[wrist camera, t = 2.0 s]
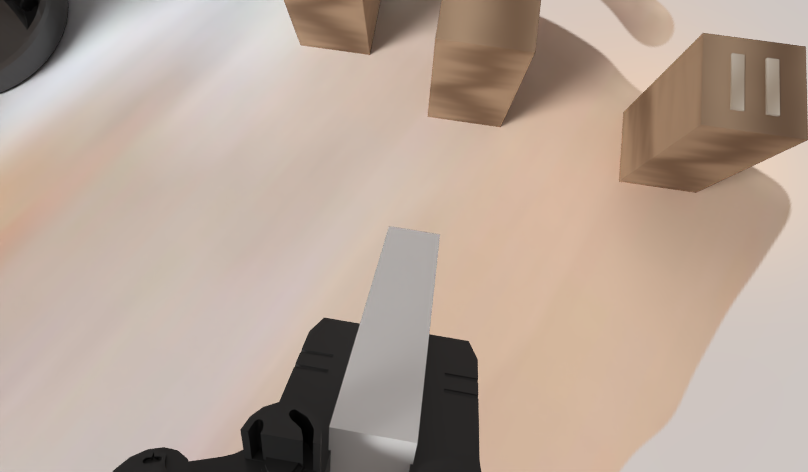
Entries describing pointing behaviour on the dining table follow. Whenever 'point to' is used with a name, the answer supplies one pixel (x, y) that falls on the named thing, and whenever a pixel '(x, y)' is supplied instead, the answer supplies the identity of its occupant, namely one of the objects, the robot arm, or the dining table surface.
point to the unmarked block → (481, 58)
